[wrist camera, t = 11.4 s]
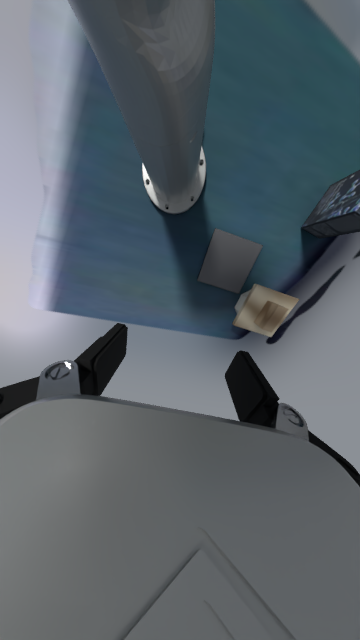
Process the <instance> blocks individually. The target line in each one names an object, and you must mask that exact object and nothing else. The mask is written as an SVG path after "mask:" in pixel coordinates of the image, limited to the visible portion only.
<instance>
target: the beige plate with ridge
mask: <svg viewBox="0 0 360 640" xmlns="http://www.w3.org/2000/svg"><path fill="white" fill-rule="evenodd" d="M298 300H299V299H297V298H294V297H291V296H288V295H286V294H283V293H280V292H277V291H274V290H272V289H269V288H266V287H263V286H261V285H258V284H255V283H254V285H253V287H252V289H251V291H250V292H249V294H248V296H247V298H246V300H245V301H244V303H243V305H242V307H241V309H240V310H239V312H238V314H237V316H236V318H235V319H234V321H233V323H232V324H233V325H234V326H238V327H241V328H244V329H247V330H250V331H253V332H256V333H260V334H263V335H266V336H269V337H272V335H273V334H274V333H275V331H276V330H277V329H278V327H279V326H280V325H281V323H282V322H283V321H284V319H285V318H286V317H287V315H288V314H289V313H290V311H291V310H292V308H293V307H294V306H295V304H296V303H297V302H298Z"/></svg>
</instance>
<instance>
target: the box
mask: <svg viewBox="0 0 360 640" xmlns="http://www.w3.org/2000/svg"><path fill="white" fill-rule="evenodd" d="M301 228H302V229H304V230H306V231H308V232H309V233H311V234H313V235H314V236H316V237H317V238H326V237H331V236H337V235H343V234H349V233H354V232H360V170H358V171H356V172H355V173H353V174H351V175H349V176H347V177H345V178H343V179H341V180H340V181H338V182H336V183H334V184H332V185H331V186H330V187H329V189H328V190H327V192H326V193H325V194H324V196H323V197H322V199H321V200H320V201H319V203H318V204H317V206H316V207H315V209H314V210H313V211H312V213H311V214H310V216H309V217H308V219H307V220H306V221H305V223H304V224H303V225H302V227H301Z"/></svg>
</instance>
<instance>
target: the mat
mask: <svg viewBox="0 0 360 640" xmlns="http://www.w3.org/2000/svg"><path fill="white" fill-rule="evenodd" d="M262 246H263V245H260V244H258V243H255V242H252V241H249V240H246V239H244V238H241V237H238V236H235V235H233V234H230V233H227V232H224V231H222V230H219V229H216V228H215V230H214V233H213V236H212V239H211V242H210V245H209V248H208V251H207V253H206V256H205V259H204V262H203V265H202V268H201V271H200V274H199V277H198V280H197V281H200V282H203V283H206V284H210V285H213V286H216V287H219V288H222V289H225V290H228V291H231V292H235V293H238V294H239V292H240V290H241V288H242V286H243V284H244V282H245V280H246V278H247V276H248V274H249V272H250V270H251V268H252V266H253V264H254V262H255V260H256V258H257V256H258V254H259V252H260V250H261V248H262Z"/></svg>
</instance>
